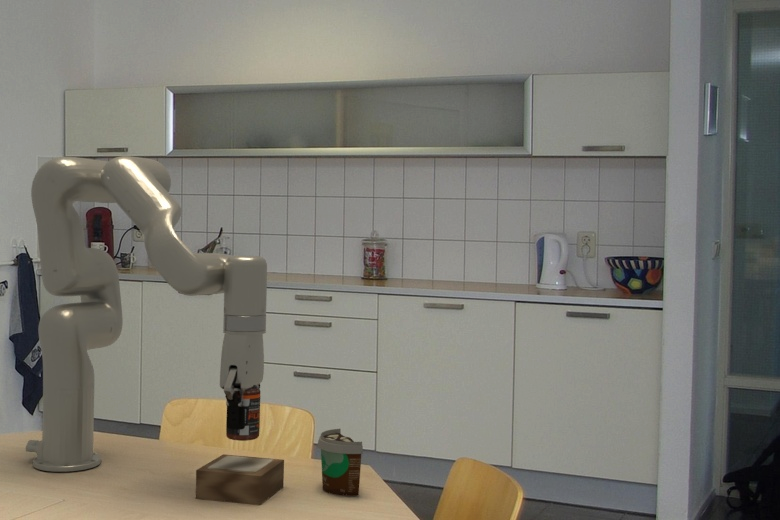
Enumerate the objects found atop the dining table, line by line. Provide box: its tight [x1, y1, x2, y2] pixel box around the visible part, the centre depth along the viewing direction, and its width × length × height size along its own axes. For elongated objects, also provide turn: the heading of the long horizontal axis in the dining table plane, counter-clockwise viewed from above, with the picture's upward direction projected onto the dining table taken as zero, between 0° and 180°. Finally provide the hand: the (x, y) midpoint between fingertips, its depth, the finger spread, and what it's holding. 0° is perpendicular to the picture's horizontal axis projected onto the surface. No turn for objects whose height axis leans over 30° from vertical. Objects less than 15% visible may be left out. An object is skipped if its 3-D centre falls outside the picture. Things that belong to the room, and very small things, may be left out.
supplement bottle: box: [225, 385, 261, 442], centre depth 168 cm, size 6×6×11 cm
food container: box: [316, 428, 364, 497], centre depth 171 cm, size 12×6×10 cm, turn 23°
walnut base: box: [195, 454, 285, 506], centre depth 168 cm, size 12×12×5 cm
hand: (242, 423), depth 168 cm, fingers closed on supplement bottle, 6 cm apart
